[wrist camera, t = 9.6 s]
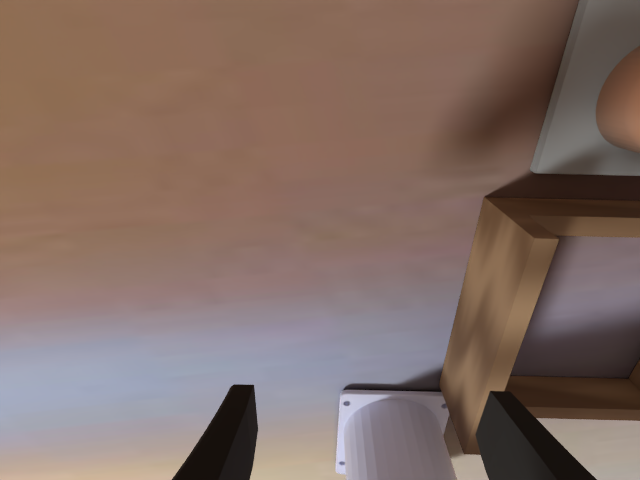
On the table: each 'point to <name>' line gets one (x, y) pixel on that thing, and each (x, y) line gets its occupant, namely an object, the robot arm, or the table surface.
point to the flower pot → (621, 104)
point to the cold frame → (526, 313)
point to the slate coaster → (588, 93)
